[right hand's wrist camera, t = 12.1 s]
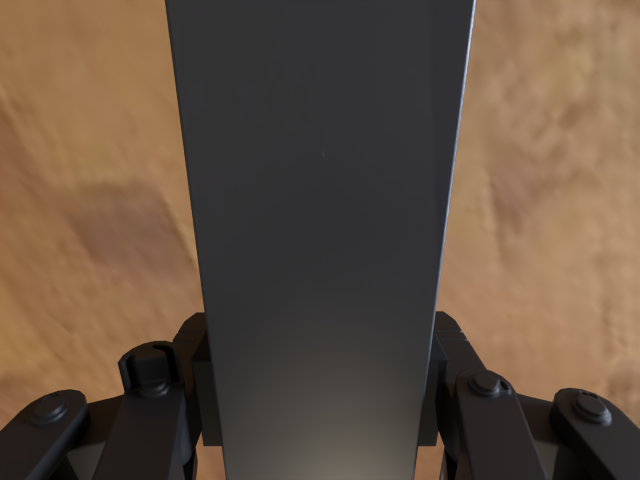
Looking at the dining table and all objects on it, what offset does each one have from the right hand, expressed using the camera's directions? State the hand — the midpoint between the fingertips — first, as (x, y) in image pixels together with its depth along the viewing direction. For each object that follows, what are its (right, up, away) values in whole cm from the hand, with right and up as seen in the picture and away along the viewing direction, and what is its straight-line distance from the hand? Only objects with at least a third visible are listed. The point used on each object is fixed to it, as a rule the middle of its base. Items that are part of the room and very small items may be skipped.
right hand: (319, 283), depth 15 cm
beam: (0, +10, -3) cm, 10 cm away
